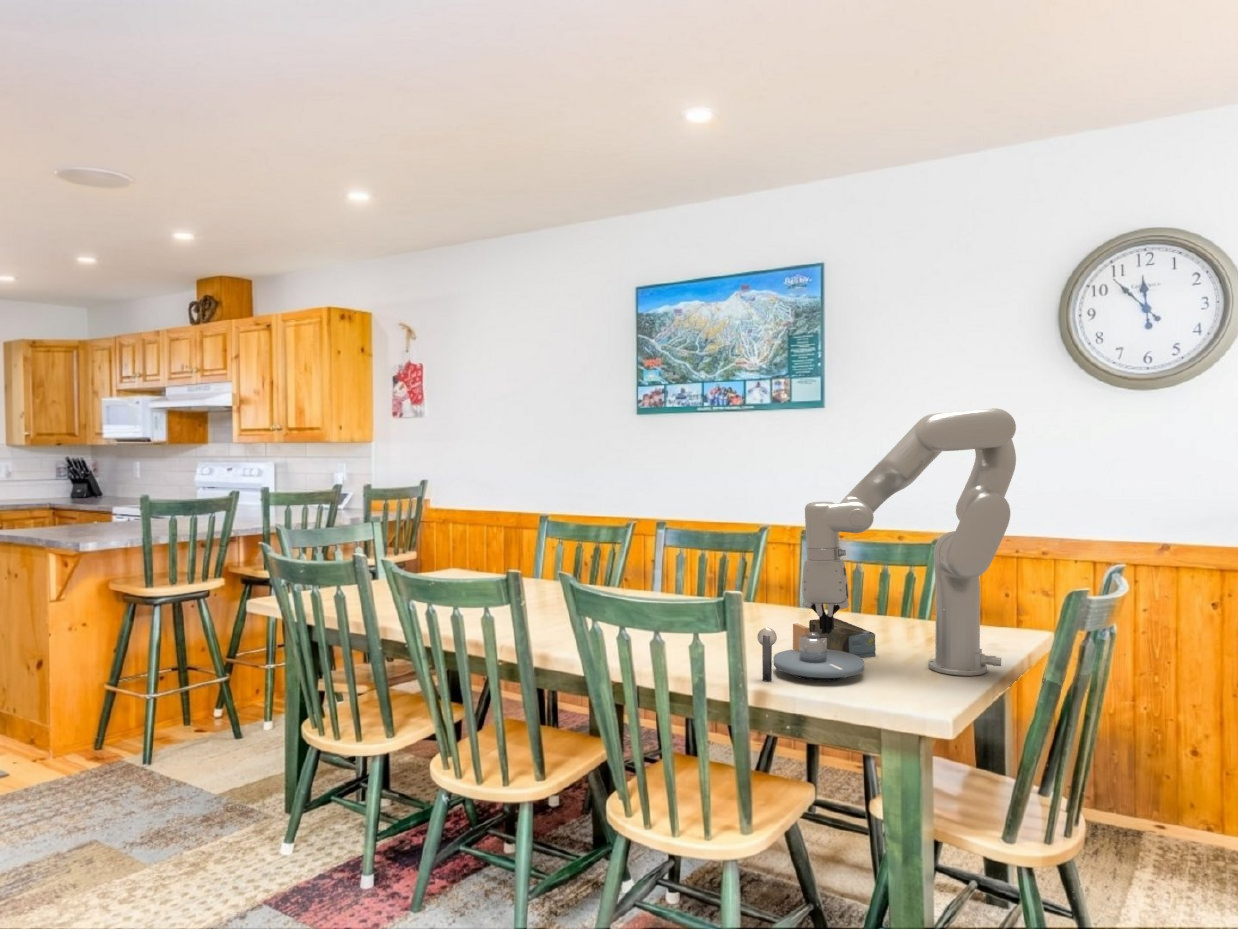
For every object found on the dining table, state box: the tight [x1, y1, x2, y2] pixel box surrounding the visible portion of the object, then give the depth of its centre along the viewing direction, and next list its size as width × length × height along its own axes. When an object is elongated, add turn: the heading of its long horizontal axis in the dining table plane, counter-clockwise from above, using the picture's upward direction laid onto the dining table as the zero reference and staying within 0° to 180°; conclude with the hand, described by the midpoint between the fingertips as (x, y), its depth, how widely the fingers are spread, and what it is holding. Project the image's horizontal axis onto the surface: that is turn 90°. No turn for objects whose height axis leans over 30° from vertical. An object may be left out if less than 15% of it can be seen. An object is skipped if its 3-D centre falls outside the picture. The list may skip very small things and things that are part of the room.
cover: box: [799, 632, 827, 663], centre depth 195 cm, size 6×6×6 cm
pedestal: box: [792, 674, 845, 682], centre depth 195 cm, size 12×12×2 cm
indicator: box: [757, 627, 778, 682], centre depth 190 cm, size 4×2×12 cm, turn 64°
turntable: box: [772, 623, 865, 678], centre depth 196 cm, size 20×20×8 cm
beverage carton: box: [808, 617, 877, 659], centre depth 219 cm, size 8×19×7 cm, turn 18°
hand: (827, 632), depth 203 cm, fingers closed
